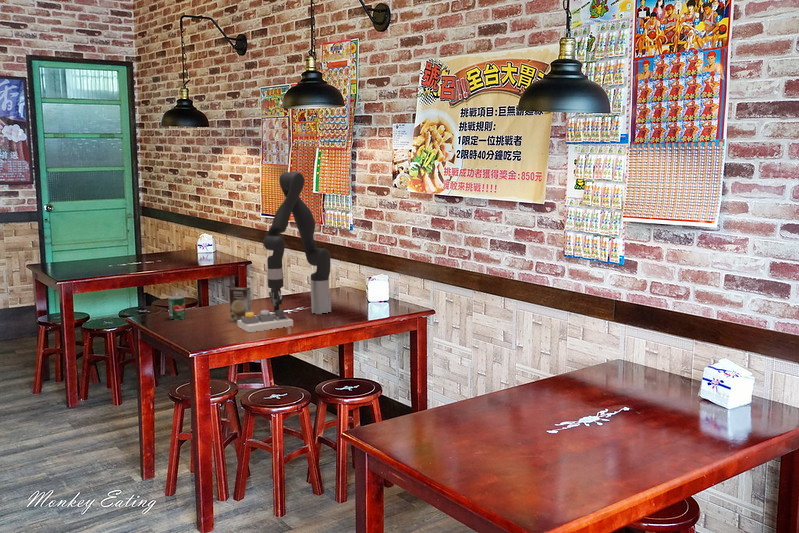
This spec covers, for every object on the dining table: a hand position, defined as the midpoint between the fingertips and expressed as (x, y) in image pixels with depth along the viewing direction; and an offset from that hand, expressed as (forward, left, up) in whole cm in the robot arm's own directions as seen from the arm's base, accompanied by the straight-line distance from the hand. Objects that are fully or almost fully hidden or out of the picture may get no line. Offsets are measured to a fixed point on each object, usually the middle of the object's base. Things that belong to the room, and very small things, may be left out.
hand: (276, 312), depth 358 cm
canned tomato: (+37, -39, -6) cm, 54 cm away
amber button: (+14, +2, -1) cm, 15 cm away
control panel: (+7, +2, -5) cm, 9 cm away
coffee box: (+12, -17, -6) cm, 21 cm away
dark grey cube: (0, +3, -2) cm, 4 cm away
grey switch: (+7, +2, -1) cm, 7 cm away
